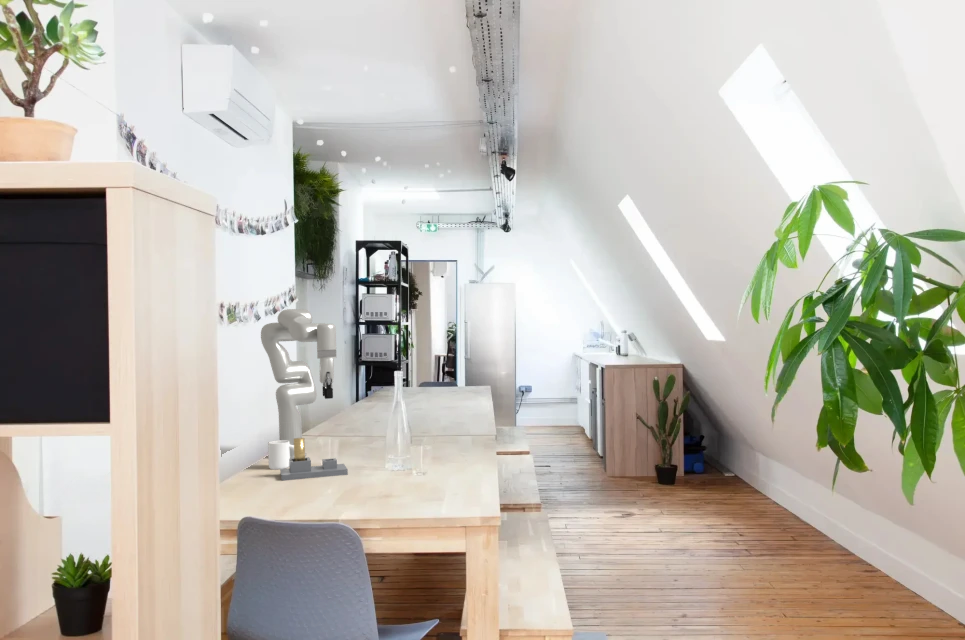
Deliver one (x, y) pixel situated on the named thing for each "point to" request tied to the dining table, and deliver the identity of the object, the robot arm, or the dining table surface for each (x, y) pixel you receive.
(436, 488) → the dining table surface
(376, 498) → the dining table surface
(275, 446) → the mug
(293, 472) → the fitting block
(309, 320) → the robot arm
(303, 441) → the pipe stub
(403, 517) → the dining table surface
